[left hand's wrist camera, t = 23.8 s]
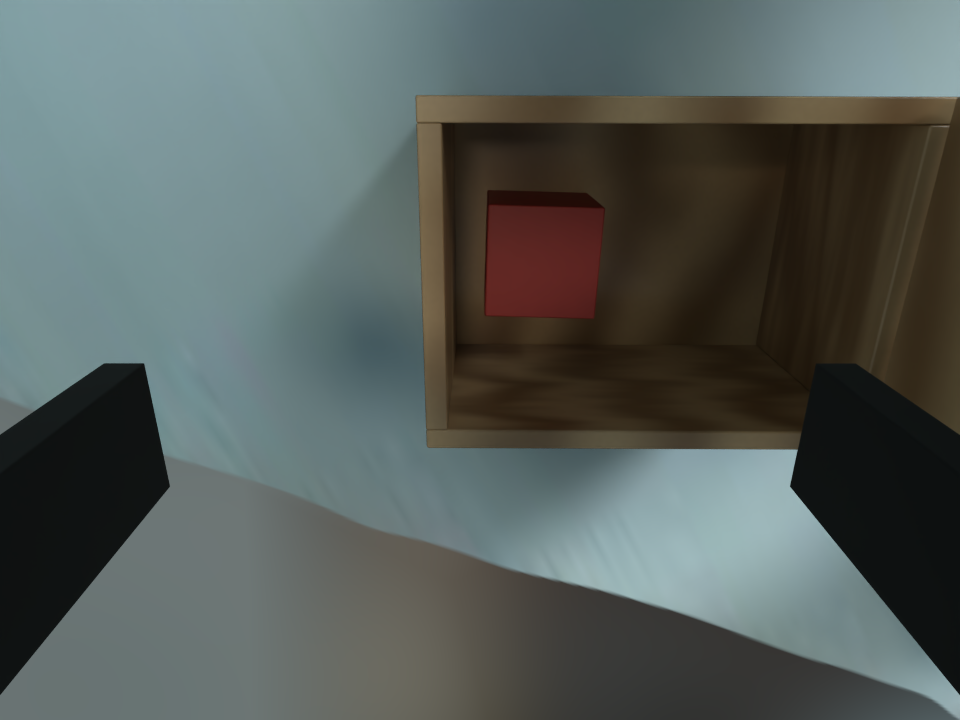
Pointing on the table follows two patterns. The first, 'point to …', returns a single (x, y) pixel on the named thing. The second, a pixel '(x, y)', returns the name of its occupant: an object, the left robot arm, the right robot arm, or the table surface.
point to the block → (542, 254)
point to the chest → (672, 262)
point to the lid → (934, 301)
